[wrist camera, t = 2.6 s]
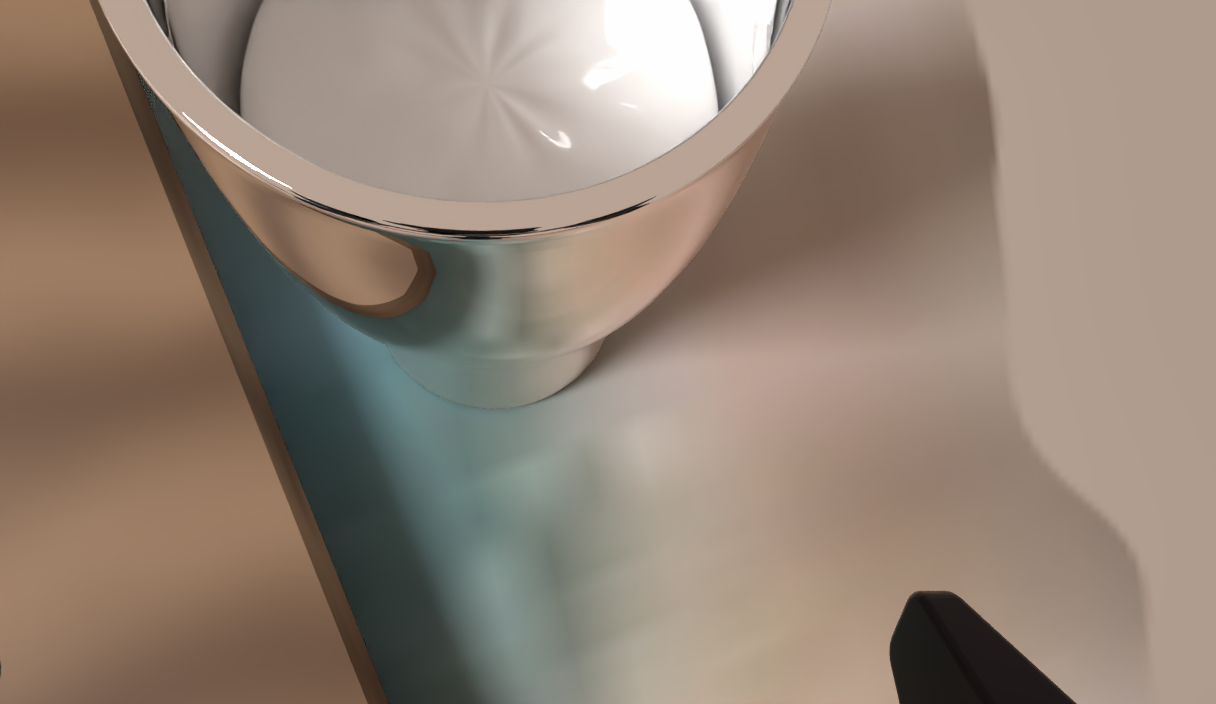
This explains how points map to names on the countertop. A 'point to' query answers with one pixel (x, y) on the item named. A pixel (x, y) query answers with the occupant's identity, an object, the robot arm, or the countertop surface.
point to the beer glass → (476, 157)
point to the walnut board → (137, 419)
